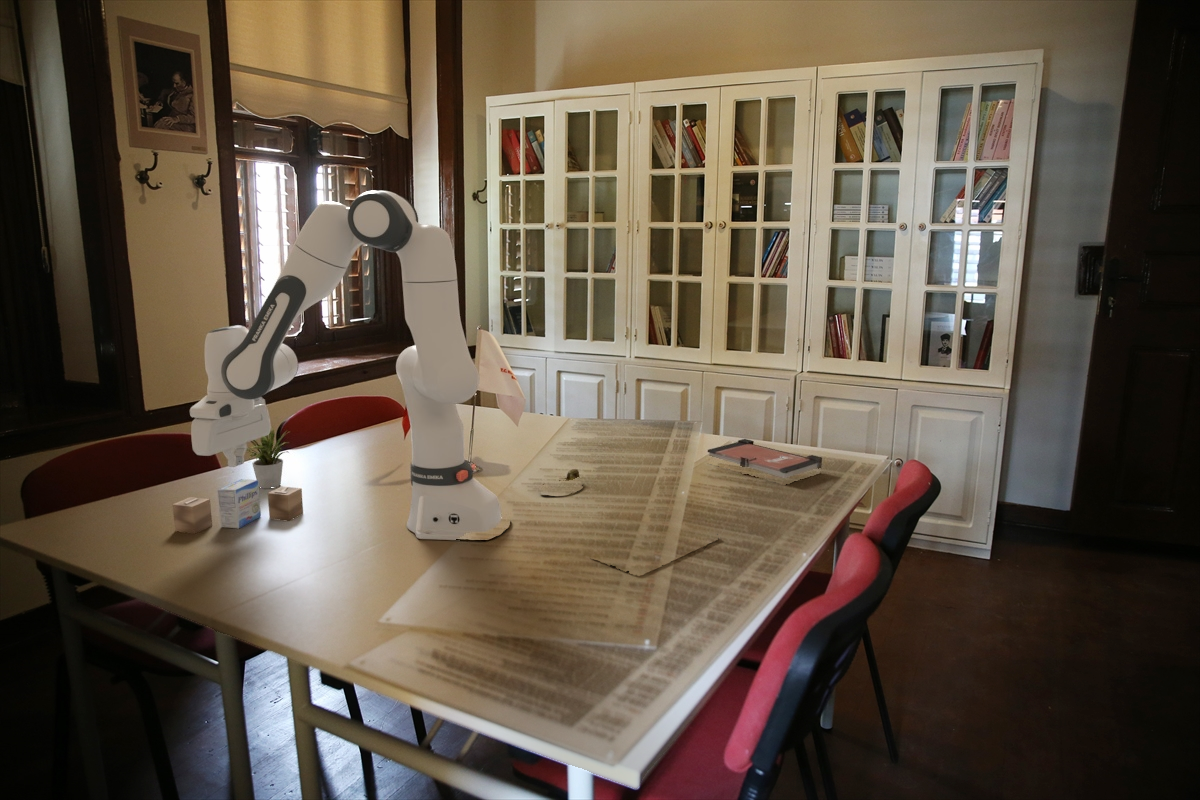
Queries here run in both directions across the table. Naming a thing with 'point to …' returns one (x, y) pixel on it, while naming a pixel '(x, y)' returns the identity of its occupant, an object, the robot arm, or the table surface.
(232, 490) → the medicine box
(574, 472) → the seal
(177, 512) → the walnut block one
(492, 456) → the table surface
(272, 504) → the walnut block seven
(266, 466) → the house plant
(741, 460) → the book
